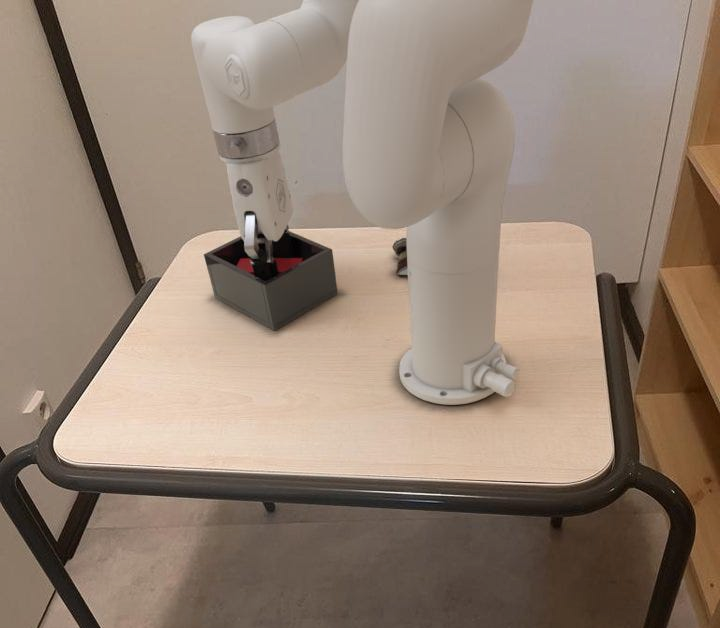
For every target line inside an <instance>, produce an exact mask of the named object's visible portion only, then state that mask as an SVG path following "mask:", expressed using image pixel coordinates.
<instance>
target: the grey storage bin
mask: <svg viewBox="0 0 720 628" xmlns="http://www.w3.org/2000/svg"><path fill="white" fill-rule="evenodd" d="M285 233H289V234H290V239H291V244H292V249H293V254H294V258H303V262H301V263H299V264H297V265H295V266H294V267H292V268H290V269H288V270H286V271H284V272H282V273H281V274H279V275H277V276H275V277H273V278H271V279H269V280H268V281H265V280H263V279H261V278H259V277H257V276H255V275H253V274H251V273H249V272H247V271H245V270H243V269H241V268H239V267H237V264H238V262H239V260H240V259H241V258H249V257H248V254H247V253H246V252H245V249H244V241H243V239H242V237H241V235H240V236H237V237H236V238H233V239H232V240H230V241H228V242H226V243H224V244H222V245H220V246H218V247H216V248H214V249H212V250H210V251H207V252H206V253H204V254H203V258H204V261H205V264H206V268H207V269H206V270H207V272H208V277H209V280H210V284H211V288H212V292H213V295H214V298H215V299H216V300H218V301H220V302H221V303H223V304H225V305H227V306H228V307H230V308H232V309H234V310H236V311H238V312H240V313H241V314H243V315H244V316H246V317H249V318H250V319H252V320H253V321H256V322H257V323H259V324H261V325H263V326H265V327H267V328H268V329H270V330H271V331H274V332H275V331H277V330H279V329H280V328H282V327H284V326H286V325H287V324H289V323H291V322H293V321H294V320H297V319H298V318H299V317H302V316H303V315H305V314H307V313H308V312H310V311H312V310H313V309H315V308H317V307H319V306H320V305H322V304H323V303H325V302H327V301H329V300H331V299H332V298H334V297H335V296H337V295H339V292H338V291H339V290H338V284H337V277H336V268H335V259H334V253H333V249H332V248H330V247H328V246H325V245H323V244H321V243H318V242H316V241H314V240H311V239H309V238H307V237H304V236H302V235H299V234H297V233H295V232H293V231H290V230H288V232H285ZM257 238H266V237H265V235H264V234H258V235H257ZM258 246H259V249H263V250H264V251H265V252H266V244H265V243H262V244H258Z"/></svg>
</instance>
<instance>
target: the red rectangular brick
mask: <svg viewBox="0 0 720 628" xmlns="http://www.w3.org/2000/svg"><path fill="white" fill-rule="evenodd" d="M273 260H276V261H277V266H278V271H279V274H281V273H282V272H284V271H286V270H288V269H290V268H292V267H294V266H295V265H297V264H299V263H301V262H303V258H273ZM237 267H239V268H241V269H243V270H245V271H247V272H249V273H251V274H253V275H254V271H253V267H252V265H251V263H250V259H249V258H241V259H240V260H239V262H238V264H237Z"/></svg>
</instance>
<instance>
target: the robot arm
mask: <svg viewBox="0 0 720 628" xmlns="http://www.w3.org/2000/svg"><path fill="white" fill-rule="evenodd" d="M533 4H534V0H302V3H301V5H300V7H299V8H297V9H294V10H290V11H288V12H285V13H283V14H280V15H277V16H274V17H271V18H268V19H266V20H264V21H262V22H259V23H256V24H255V22H254V21H253V20H252V19H251V18H249V17H246V16H244V15H242V16H241V15H230V16H222V17H217V18H213V19H209V20H207V21H203V22H201V23H200V24H198V25H196V26H195V27H194V28H193V30H192V31H191V35H190V43H191V48H192V53H193V56H194V61H195V65H196V69H197V73H198V76H199V81H200V85H201V88H202V92H203V93H202V94H203V97H204V101H205V105H206V108H207V113H208V116H209V117H208V118H209V120H210V125H211V129H212V134H213V137H214V141H215V145H216V149H217V153H218V157H219V160H220V161H222V162H224V163H225V165H226V173H227V179H228V185H229V192H230V196H231V202H232V206H233V211H234V215H235V219H236V223H237V227H238V231H239V235H240V236H241V237H242V239H243V241H244V249H245V252H246V253H247V254H248V257H249V259H250V263H251V265H252V267H253V271H254V275H255V276H257V277H259V278H261V279H263V280H265V281H268V280H269V279H271V278H273V277H275V276H277V275H279V271H278V266H277V261H276V260H273V258H294V254H293V249H292V244H291V239H290V234H289V233H285V232H288V231H290V230H289V229H290V228H289V224H290V221H291V218H292V216H293V213H294V206H293V202H292V197H291V193H290V192H291V191H290V188H289V183H288V180H287V175H286V171H285V166H284V164H283V159H282V157H281V156H282V155H281V153H280V150H281V142H280V136H279V132H278V126H277V121H276V117H275V111H274V107H276V106H279V105H281V104H283V103H285V102H288V101H291V100H292V99H294V98H295V97H297V96H299V95H301V94H303V93H307V92H309V91H312V90H313V89H316V88H318V87H321V86H322V85H325V84H328V83H329V82H331V81H332V80H333V79H334V78H335V77H336V76H338V74H339V73H340V71H341V70H342V69H343V67H344V65H345V63H346V73H345V89H344V109H343V127H342V146H341V147H342V149H341V151H342V152H341V153H342V155H341V157H342V159H341V161H342V172H343V178H344V182H345V186H346V190H347V193H348V195H349V198H350V200H351V203H352V205H353V206H354V208H355V209H356V211H357V212H358V213H359V214H360V215H361V216H362V217H363V219H365V220H366V221H367V222H368V223H369V224H371V225H373V226H375V227H378V228H380V229H384V230H401V229H406V235H405V236H406V237H405V238H406V243H407V265H408V275H407V284H408V286H407V287H408V304H409V323H410V325H409V327H410V346H411V347H410V348H409V349H408V350H407V351H406V352H405V353H404V354H403V356H402V357H401V358H400V360H399V361H400V362H399V365H398V373H399V379H400V382H401V383H402V385H403V387H404V388H405V389H406V390H407V391H408V392H409V393H410V394H412V395H413V396H414V397H416V398H419V399H420V400H423V401H425V402H429V403H432V404H438V405H443V406H445V405H446V406H449V405H450V406H452V405H453V406H456V405H466V404H471V403H474V402H475V403H476V402H477V401H480V400H483V399H486V398H487V397H489V396H491V395H493V394H494V393H497V394H499V395H501V396H503V397H504V398H509V397H510V396H511V395H512V394H513V393H514V391H515V389H516V381H515V380H516V379H517V378H518V376H519V373H520V369H519V368H518V367H515V366H513V365H511V364H509V363H507V359H506V357H505V355H504V354H503V345H502V344H501V343H499V342H496V340H495V339H496V322H497V303H498V301H497V300H498V299H497V298H498V283H499V282H498V281H499V280H498V279H499V261H500V260H499V259H500V247H501V230H502V229H501V228H502V215H503V209H504V208H503V207H504V200H505V194H506V189H507V185H508V180H509V175H510V173H511V167H512V163H513V157H514V151H515V146H516V145H515V144H516V143H515V142H516V127H515V125H516V124H515V119H514V113H513V111H512V108H511V105H510V103H509V100H508V99H507V97H506V95H505V94H504V93H503V92H502V90H501V89H500V88H499V87H498V86H497V85H496V84H494V83H493V82H492V81H490V80H488V79H486V78H484V77H483V76H485V75H486V74H488V73H490V72H492V71H493V70H495V69H497V68H499V67H500V66H502V65H504V64H505V63H506V62H508V60H510V59H511V58H512V56H513V55H514V54H515V52H516V51H517V50H518V49H519V47H520V45H521V44H522V42H523V39H524V37H525V34H526V32H527V28H528V25H529V20H530V16H531V13H532V9H533ZM258 234H264V235H265V237H266V238H257V235H258ZM262 243H265V244H266V252H265V251H264V250H263V249H259V246H258V244H262Z"/></svg>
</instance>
